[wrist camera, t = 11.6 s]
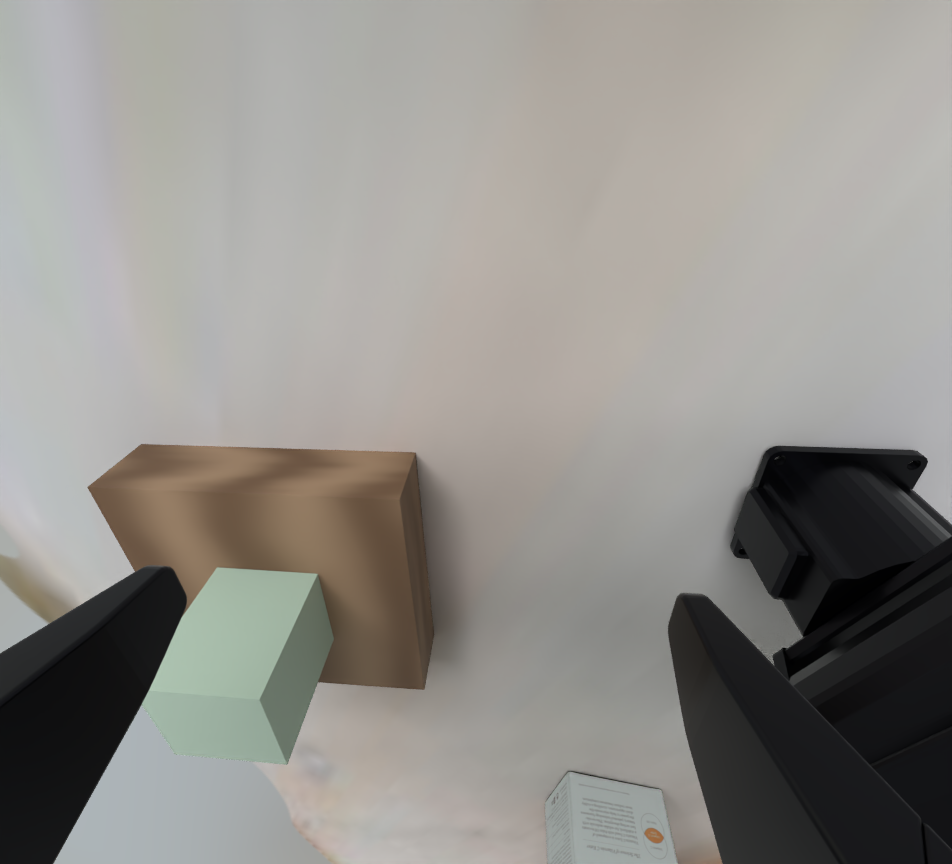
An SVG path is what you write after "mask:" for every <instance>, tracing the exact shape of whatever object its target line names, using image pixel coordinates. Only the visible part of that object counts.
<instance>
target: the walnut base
mask: <svg viewBox="0 0 952 864" xmlns="http://www.w3.org/2000/svg"><path fill="white" fill-rule="evenodd" d="M88 489H89V491H90V493H91V494H92V496H93V498H94V500H95V501H96V503H97V505H98V507H99V509H100V510H101V512H102V514H103V516H104V517H105V519H106V521H107V523H108V524H109V526H110V528H111V530H112V532H113V533H114V535H115V537H116V539H117V540H118V542H119V544H120V546H121V548H122V549H123V551H124V553H125V555H126V556H127V558H128V560H129V562H130V564H131V565H132V567H133V569H134V571H135V572H136V571H138V570H139V569H141V568H143V567H145V566H149V565H160V566H169V567H171V568H173V569H174V571H175V573H176V575H177V577H178V579H179V581H180V583H181V585H182V587H183V589H184V591H185V593H186V595H187V605H186V609H185V611H184V613H183V615H184V614H185V612H186V611H187V609H188V608H189V607H190V605H191V604H192V602H193V601H194V599H195V598H196V597H197V595H198V594H199V592H200V591H201V590H202V588H203V587H204V585H205V584H206V582H207V581H208V580H209V578H210V577H211V575H212V574H213V573H214V571H215V570H216V568H217V567H219V568H235V569H251V570H266V571H282V572H297V573H313V574H318V577H319V581H320V585H321V589H322V593H323V597H324V601H325V605H326V609H327V613H328V617H329V621H330V625H331V629H332V633H333V637H334V640H333V642H332V645H331V648H330V651H329V653H328V656H327V659H326V661H325V664H324V667H323V669H322V672H321V675H320V678H319V680H318V682H323V683H337V684H351V685H365V686H379V687H393V688H407V689H421V690H424V689H425V683H426V677H427V672H428V666H429V661H430V655H431V649H432V644H433V638H434V630H433V620H432V611H431V601H430V591H429V581H428V571H427V561H426V552H425V542H424V532H423V522H422V512H421V502H420V492H419V483H418V473H417V463H416V453H412V452H379V451H346V450H313V449H280V448H248V447H215V446H182V445H149V444H141V445H140V446H138V447H137V448H136V449H135V450H133V451H132V452H131V453H130V454H128V455H127V456H126V457H125V458H123V459H122V460H121V461H120V462H118V463H117V464H116V465H115V466H113V467H112V468H111V469H110V470H108V471H107V472H106V473H105V474H103V475H102V476H101V477H100V478H98V479H97V480H96V481H95V482H93V483H92V484H91V485H90V486H88Z"/></svg>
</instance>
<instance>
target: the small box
mask: <svg viewBox="0 0 952 864" xmlns="http://www.w3.org/2000/svg"><path fill="white" fill-rule="evenodd" d="M545 819H546V842H547V864H678V862H677V857H676V852H675V848H674V843H673V839H672V834H671V830H670V825H669V821H668V816H667V812H666V808H665V803H664V799H663V794H662V791H661V790H660V789H654V788H649V787H644V786H638V785H633V784H628V783H623V782H618V781H613V780H608V779H603V778H598V777H593V776H588V775H584V774H579V773H574V772H568V773H567V774H566V775H565V777H564V778H563V779H562V780H561V782H560V783H559V784H558V786H557V787H556V788H555V790H554V791H553V792H552V794H551V795H550V797H549V798H548V800H547V801H546V803H545Z"/></svg>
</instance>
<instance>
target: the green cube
mask: <svg viewBox="0 0 952 864" xmlns="http://www.w3.org/2000/svg"><path fill="white" fill-rule="evenodd" d="M333 640H334V637H333V633H332V629H331V625H330V621H329V617H328V613H327V609H326V605H325V601H324V597H323V593H322V589H321V585H320V581H319V577H318V574H313V573H297V572H282V571H266V570H251V569H235V568H219V567H217V568H216V570H215V571H214V573H213V574H212V575H211V577H210V578H209V580H208V581H207V582H206V584H205V585H204V587H203V588H202V590H201V591H200V592H199V594H198V595H197V597H196V598H195V599H194V601H193V602H192V604H191V605H190V607H189V608H188V609H187V611H186V612H185V614H184V615H183V616H182V618H181V620H180V622H179V625H178V627H177V629H176V632H175V634H174V636H173V638H172V641H171V643H170V645H169V647H168V650H167V652H166V654H165V656H164V659H163V661H162V663H161V665H160V668H159V670H158V672H157V674H156V677H155V679H154V681H153V683H152V685H151V687H150V689H149V691H148V693H147V695H146V697H145V699H144V701H143V703H142V706H143V707H144V709H145V710H146V712H147V713H148V715H149V716H150V718H151V719H152V721H153V722H154V724H155V725H156V727H157V728H158V730H159V731H160V733H161V734H162V736H163V737H164V739H165V740H166V742H167V743H168V745H169V746H170V747H171V749H172V751H173V752H174V754H176V755H188V756H198V757H209V758H220V759H231V760H242V761H253V762H264V763H275V764H286V765H287V764H288V761H289V758H290V756H291V753H292V750H293V748H294V745H295V742H296V740H297V737H298V734H299V732H300V729H301V726H302V723H303V721H304V718H305V715H306V713H307V710H308V707H309V705H310V702H311V699H312V696H313V694H314V691H315V688H316V686H317V683H318V680H319V678H320V675H321V672H322V669H323V667H324V664H325V661H326V659H327V656H328V653H329V651H330V648H331V645H332V642H333Z"/></svg>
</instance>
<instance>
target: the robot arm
mask: <svg viewBox="0 0 952 864" xmlns="http://www.w3.org/2000/svg"><path fill="white" fill-rule="evenodd" d="M778 456H781V457H780V458H779V459H777V460H774V459H775V458H776V457H778ZM912 461H913V462H912ZM910 462H912V463H910ZM909 463H910V464H909ZM927 463H928V461H927V458H926V457H924V456H923V455H922V454H920V453H919V452H918V451H914V450H890V449H859V448H828V447H797V446H775V447H772V448H770V449H769V450H767V451H766V453H765V454H764V456H763V459H762V462H761V464H760V467H759V470H758V473H757V475H756V478H755V481H754V483H753V486H752V488H751V489H750V490H749V491H748V493H747V496H746V498H745V501H744V504H743V507H742V509H741V512H740V515H739V517H738V520H737V523H736V526H735V528H734V531H735V534H734V537H733V540H732V543H731V547H730V548H731V550H732V552H733V554H734V555H735V556H736V557H737V558H744V559H750V560H751V562H752V564H753V566H754V568H755V569H756V571H757V573H758V575H759V577H760V578H761V580H762V582H763V584H764V586H765V588H766V589H767V591H768V593H769V594H770V595H771V596H772V597H773V598H774V599H781V600H782V601H783V602H784V604H785V606H786V608H787V609H788V611H789V613H790V615H791V616H792V618H793V620H794V622H795V623H796V625H797V627H798V629H799V630H800V632H801V634H802V636H803V638H802V639H800V640H799V641H797V642H796V643H794V644H793V645H791V646H790V647H789V648H787V649H786V648H782V649H781V650H779V651H778V652H777V653H775V654H774V655H773V660H774V665H775V666H774V665H773V664H772V663H771V662H770V661H769V660H768V659H767V658H766V657H765V656H764V655H763V654H762V653H761V652H760V651H759V650H758V649H757V648H756V647H755V646H754V644H753V643H752V642H751V641H750V640H749V639H748V638H747V637H746V636H745V635H744V634H743V633H742V632H741V631H740V630H739V629H738V628H737V627H736V626H735V625H734V624H733V623H732V622H731V621H730V620H729V619H728V618H727V617H726V616H725V614H724V613H723V612H722V611H721V610H720V609H719V608H718V607H717V606H716V605H715V604H714V603H713V602H712V601H711V600H710V599H709V598H708V597H706V596H705V595H703V594H692V593H681V594H679V595H678V596H677V598H676V601H675V605H674V608H673V611H672V614H671V618H670V621H669V625H668V636H669V643H670V648H671V654H672V660H673V665H674V671H675V677H676V682H677V688H678V694H679V700H680V705H681V711H682V716H683V722H684V727H685V732H686V736H687V739H688V743H689V747H690V751H691V754H692V758H693V761H694V765H695V768H696V772H697V775H698V779H699V782H700V786H701V789H702V793H703V796H704V800H705V804H706V807H707V811H708V814H709V818H710V821H711V825H712V828H713V832H714V835H715V839H716V842H717V846H718V849H719V853H720V856H721V860H722V863H723V864H952V525H951V524H950V523H949V522H948V521H947V520H946V519H945V518H944V517H943V516H941V515H940V514H939V513H938V512H937V511H936V510H935V509H934V508H932V507H931V506H930V505H929V504H928V503H927V502H926V501H925V500H923V499H922V498H921V497H920V496H919V495H918V494H917V493H916V492H914V491H913V490H912V489H913V487H914V486H915V484H916V482H917V481H918V479H919V477H920V476H921V474H922V472H923V471H924V469H925V467H926V466H927ZM741 548H743V549H741ZM186 605H187V595H186V593H185V591H184V589H183V587H182V585H181V583H180V581H179V579H178V577H177V575H176V573H175V571H174V569H173V568H171V567H169V566H160V565H149V566H145V567H143V568H141V569H139V570H138V571H136V572H134V573H133V574H131V575H129V576H128V577H126V578H124V579H123V580H121V581H119V582H118V583H116V584H114V585H113V586H111V587H109V588H108V589H106V590H104V591H103V592H101V593H100V594H98V595H96V596H95V597H93V598H91V599H90V600H88V601H86V602H85V603H83V604H81V605H80V606H78V607H76V608H75V609H73V610H71V611H70V612H68V613H66V614H65V615H63V616H61V617H60V618H58V619H57V620H55V621H53V622H52V623H50V624H48V625H47V626H45V627H43V628H42V629H40V630H38V631H37V632H35V633H34V634H32V635H30V636H28V637H27V638H25V639H23V640H22V641H20V642H19V643H17V644H15V645H13V646H12V647H10V648H8V649H7V650H5V651H4V652H2V653H0V864H53V863H54V861H55V860H56V858H57V856H58V854H59V852H60V850H61V849H62V847H63V845H64V843H65V842H66V840H67V838H68V836H69V834H70V833H71V831H72V829H73V827H74V825H75V824H76V822H77V820H78V818H79V816H80V815H81V813H82V811H83V809H84V807H85V806H86V804H87V802H88V800H89V798H90V797H91V795H92V793H93V791H94V789H95V788H96V786H97V784H98V782H99V780H100V778H101V776H102V775H103V773H104V771H105V770H106V767H107V766H108V764H109V762H110V761H111V759H112V757H113V755H114V753H115V752H116V750H117V748H118V746H119V744H120V743H121V741H122V739H123V737H124V735H125V734H126V732H127V730H128V728H129V726H130V725H131V723H132V721H133V719H134V717H135V715H136V714H137V712H138V710H139V708H140V706H141V705H142V703H143V701H144V699H145V697H146V695H147V693H148V691H149V689H150V687H151V685H152V683H153V681H154V679H155V677H156V674H157V672H158V670H159V668H160V665H161V663H162V661H163V659H164V656H165V654H166V652H167V650H168V647H169V645H170V643H171V641H172V638H173V636H174V634H175V632H176V629H177V627H178V625H179V622H180V620H181V618H182V616H183V613H184V611H185V609H186Z"/></svg>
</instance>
